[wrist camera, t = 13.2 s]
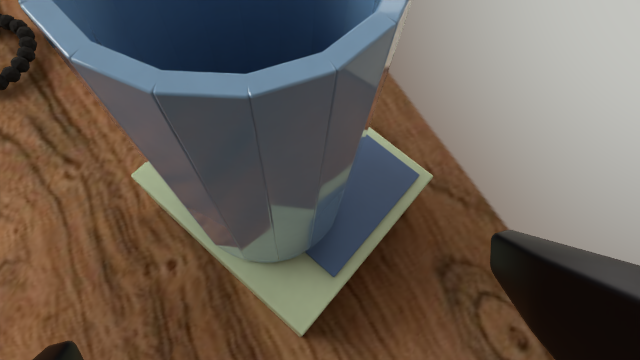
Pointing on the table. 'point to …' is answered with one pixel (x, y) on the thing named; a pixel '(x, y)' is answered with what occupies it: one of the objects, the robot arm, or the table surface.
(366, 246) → the box
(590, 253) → the robot arm
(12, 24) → the bracelet
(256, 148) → the blue hollow cylinder
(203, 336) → the table surface
